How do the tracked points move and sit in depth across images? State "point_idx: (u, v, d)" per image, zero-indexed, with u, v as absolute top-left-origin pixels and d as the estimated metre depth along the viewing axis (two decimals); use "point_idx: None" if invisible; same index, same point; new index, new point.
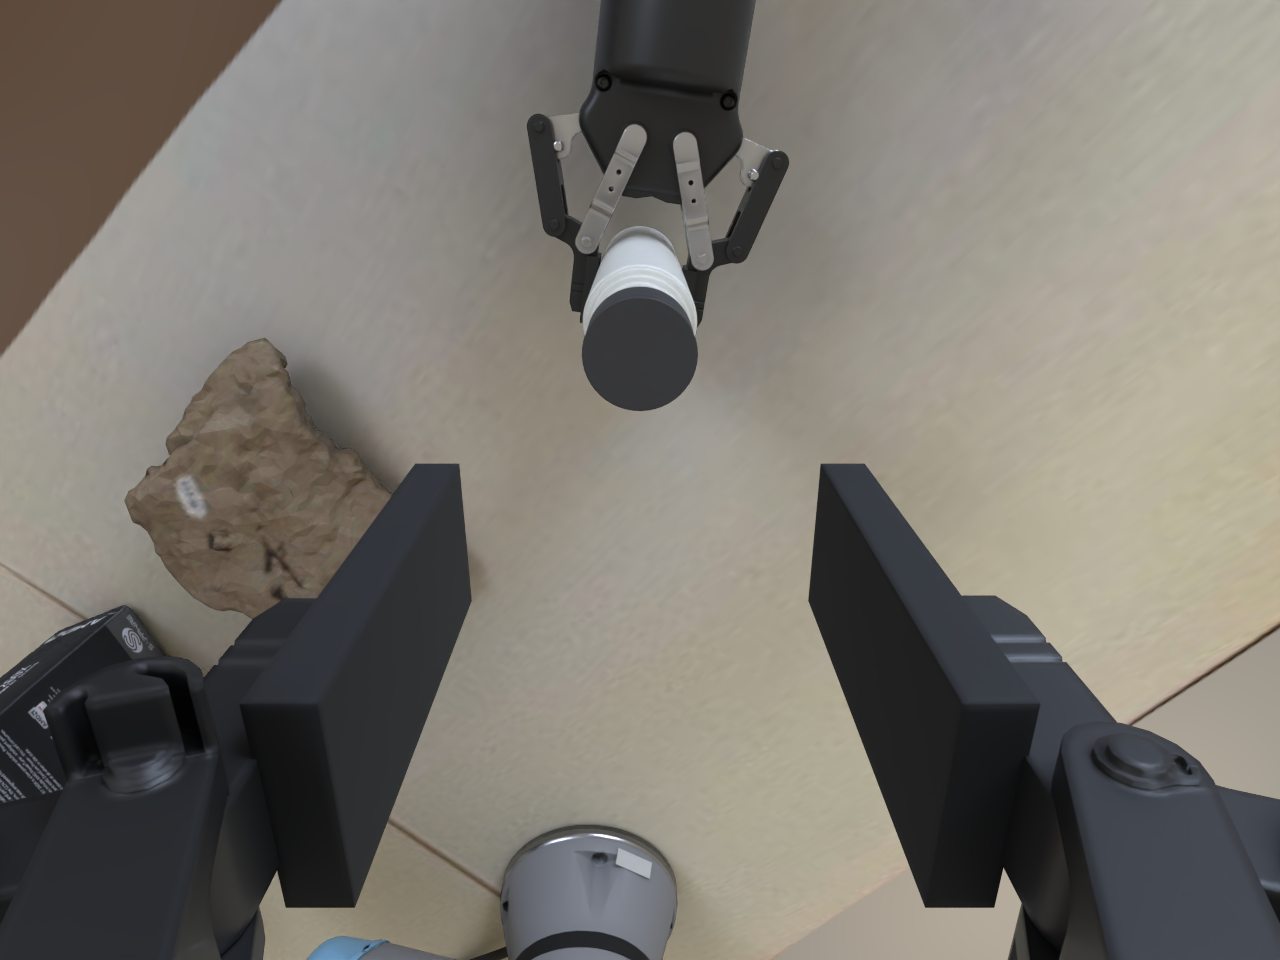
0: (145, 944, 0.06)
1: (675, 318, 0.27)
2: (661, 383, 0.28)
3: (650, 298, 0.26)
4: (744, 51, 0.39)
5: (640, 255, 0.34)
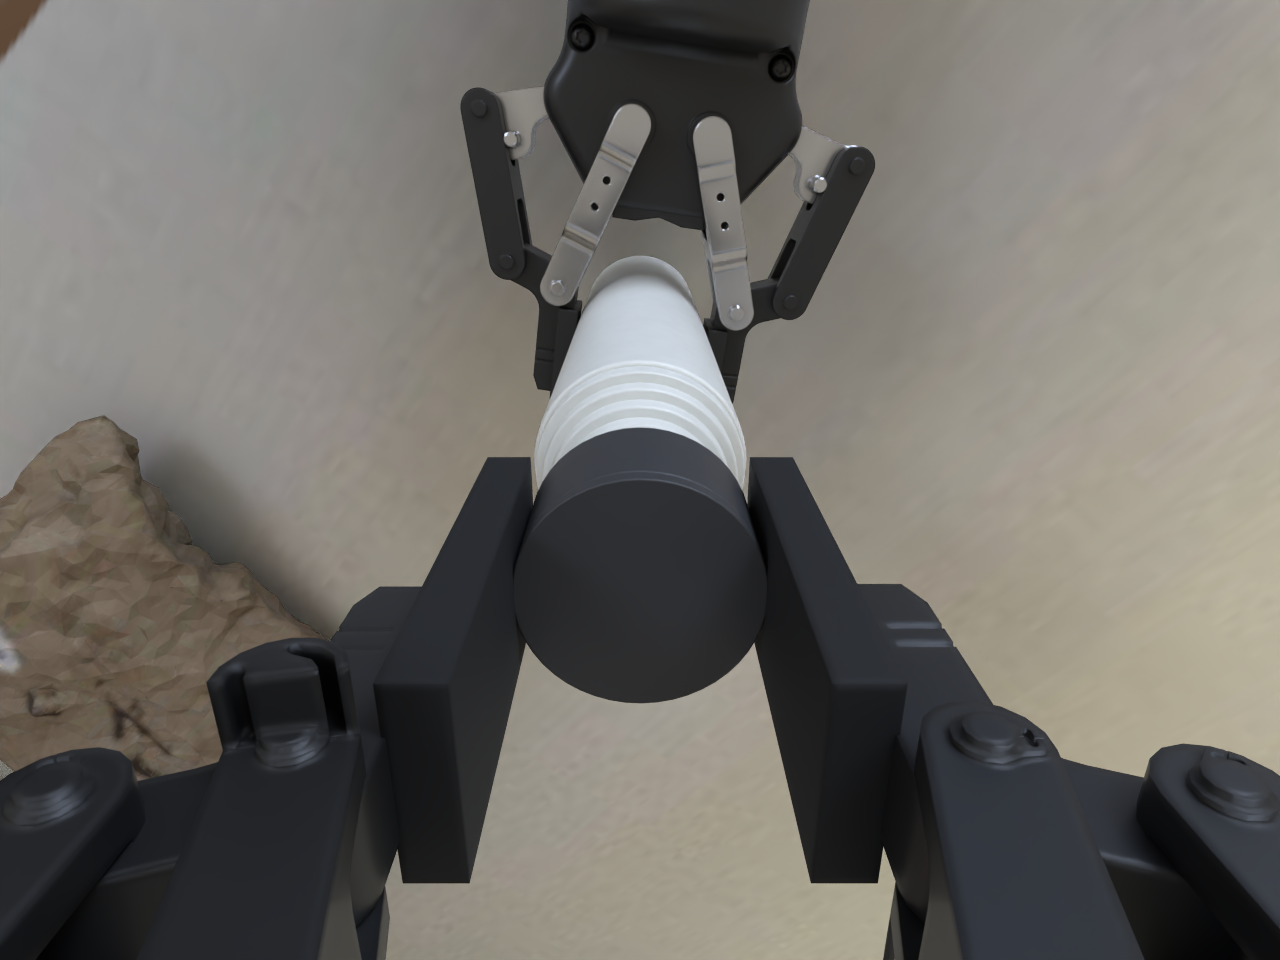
0: (297, 918, 0.06)
1: (721, 523, 0.12)
2: (687, 652, 0.13)
3: (664, 481, 0.11)
4: None
5: (641, 330, 0.19)
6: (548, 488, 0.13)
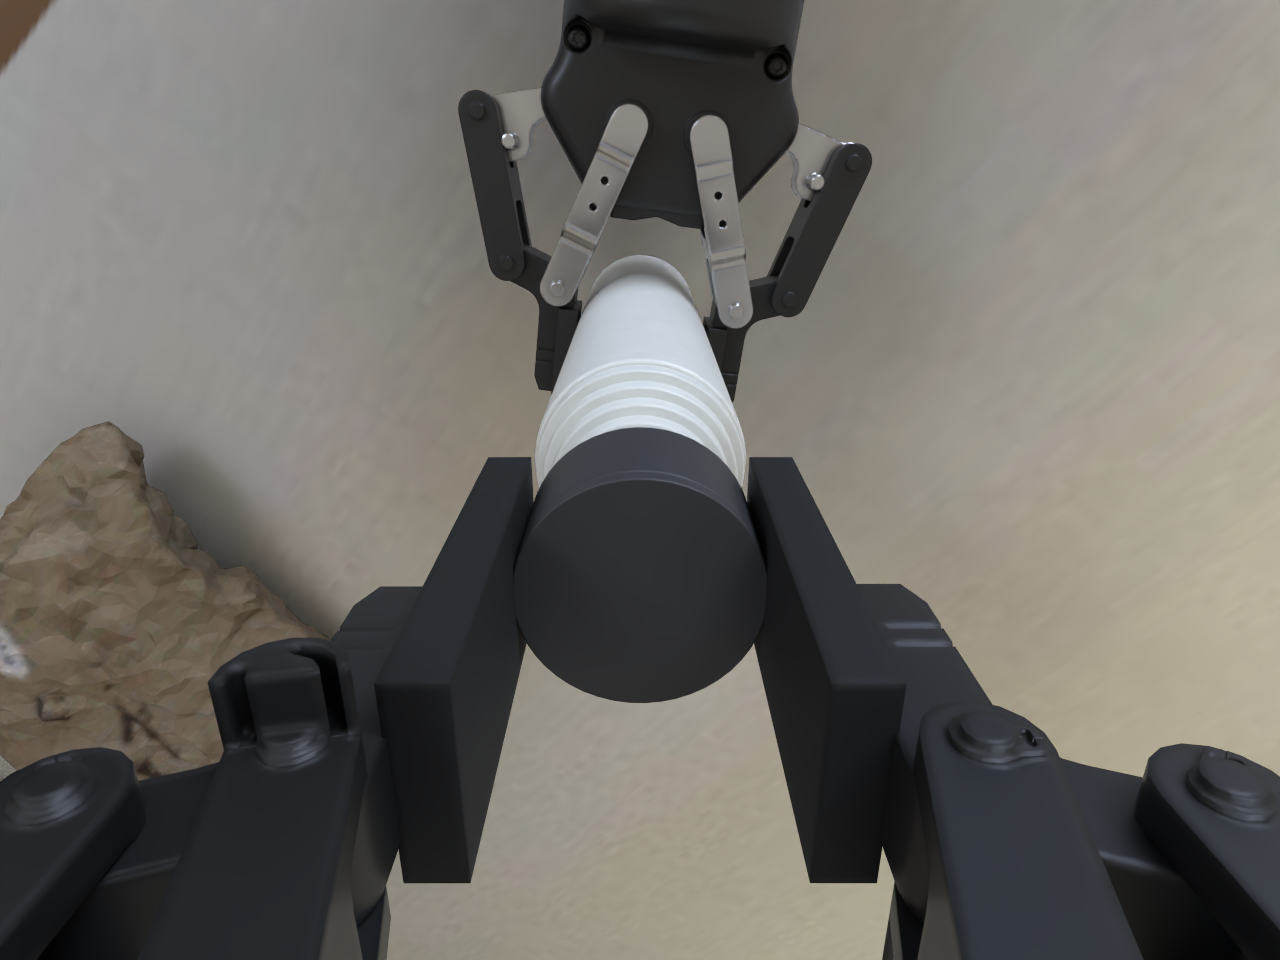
0: (299, 918, 0.06)
1: (526, 590, 0.12)
2: (659, 527, 0.12)
3: (531, 648, 0.13)
4: None
5: (640, 329, 0.20)
6: None
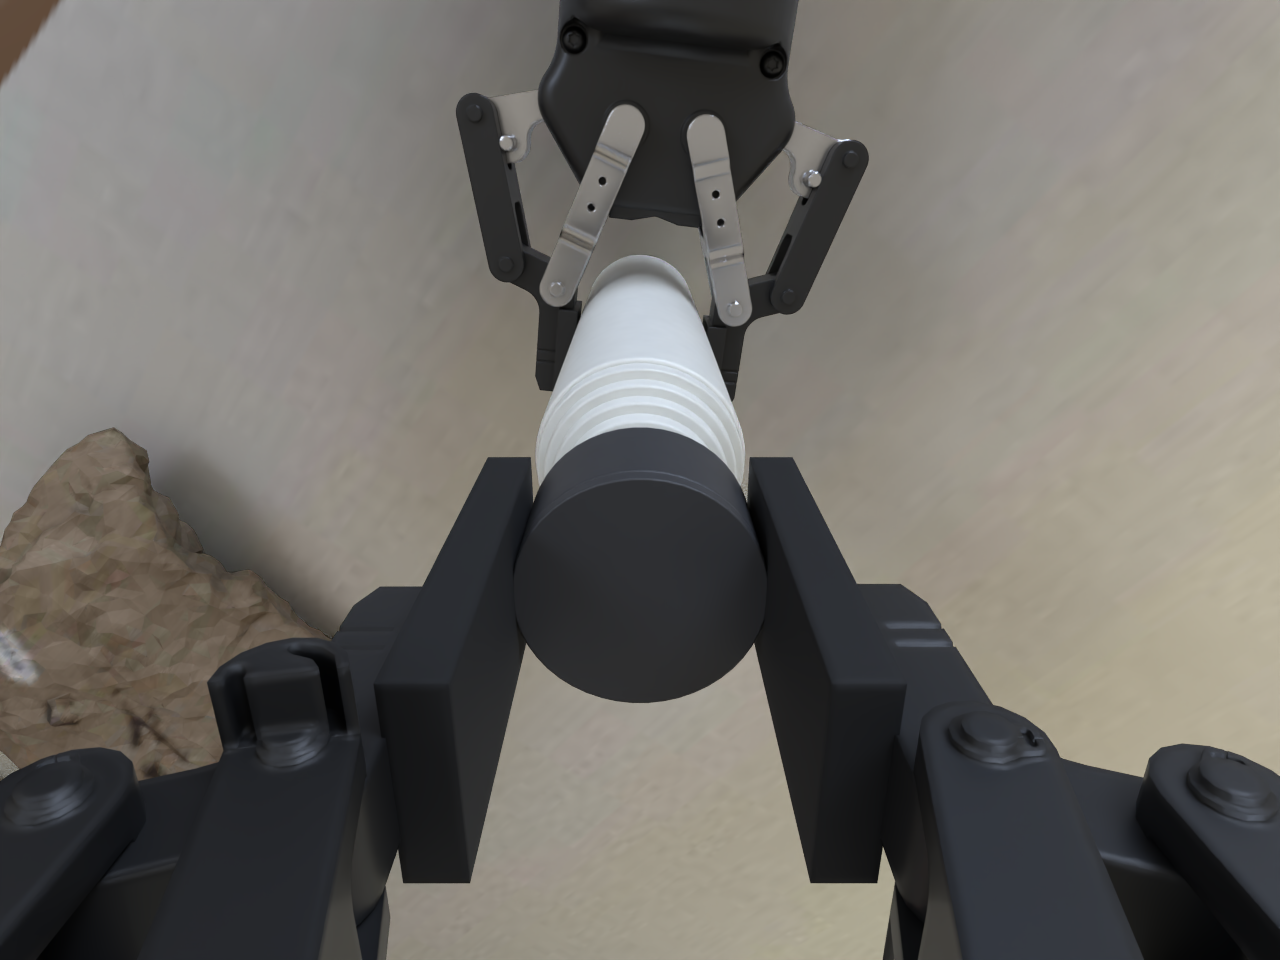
0: (298, 918, 0.06)
1: (702, 675, 0.13)
2: (568, 627, 0.12)
3: (755, 638, 0.12)
4: None
5: (638, 328, 0.20)
6: (736, 493, 0.13)
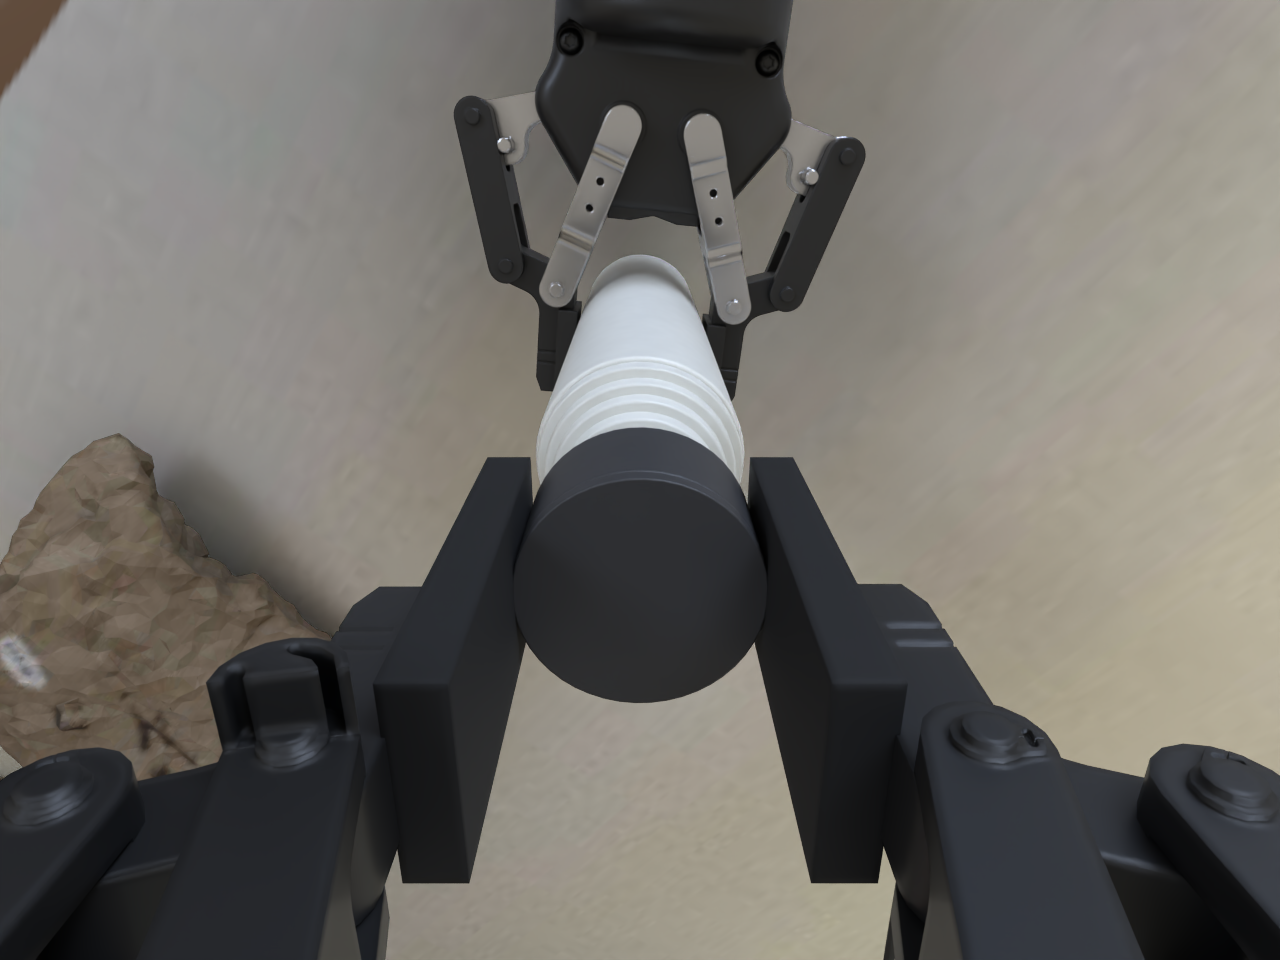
0: (297, 918, 0.06)
1: (673, 497, 0.12)
2: (711, 627, 0.12)
3: (600, 484, 0.12)
4: None
5: (637, 327, 0.20)
6: None
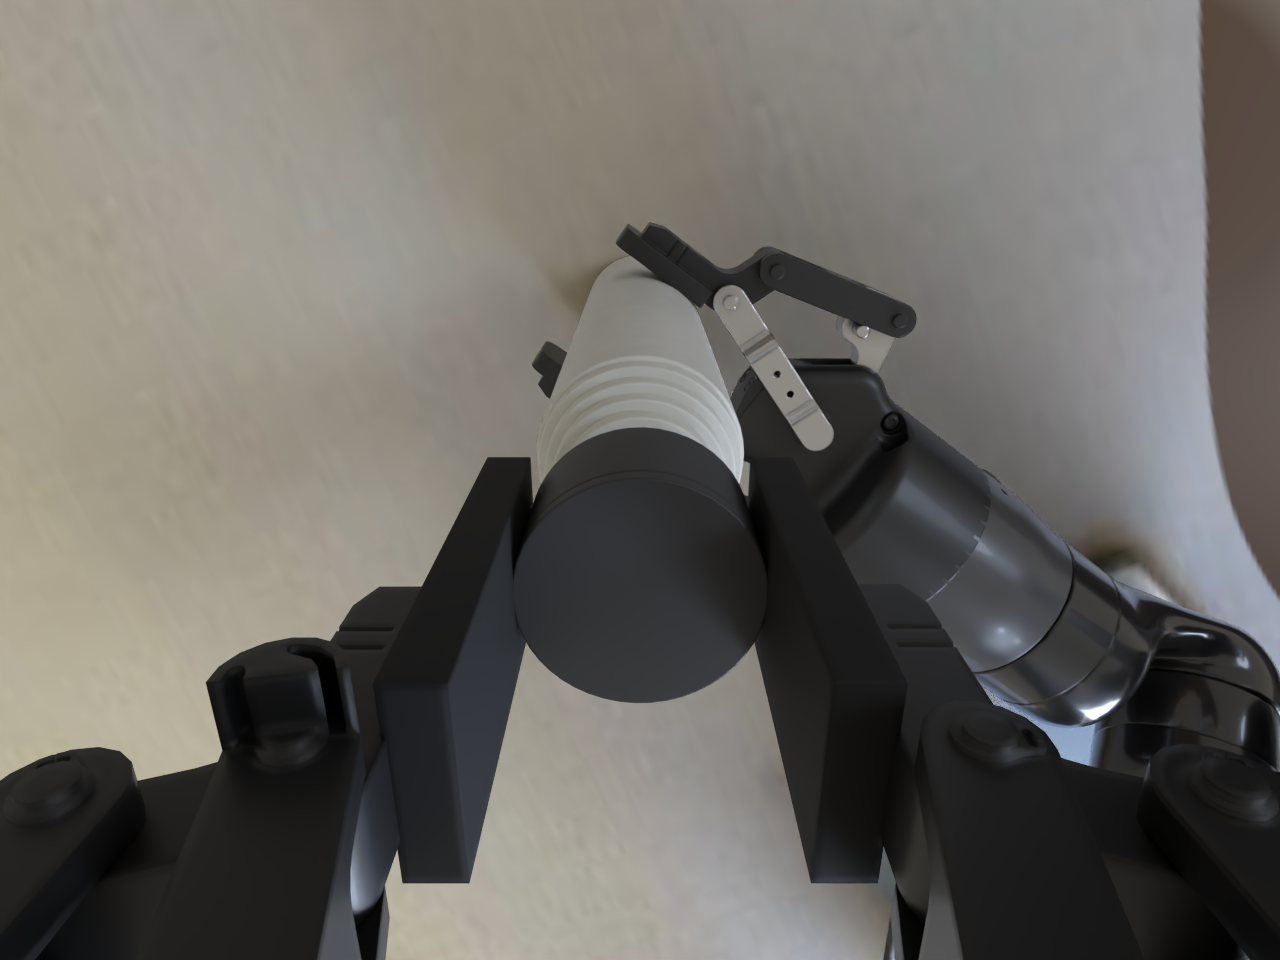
0: (297, 918, 0.06)
1: (673, 497, 0.12)
2: (711, 627, 0.12)
3: (601, 484, 0.12)
4: None
5: None
6: None
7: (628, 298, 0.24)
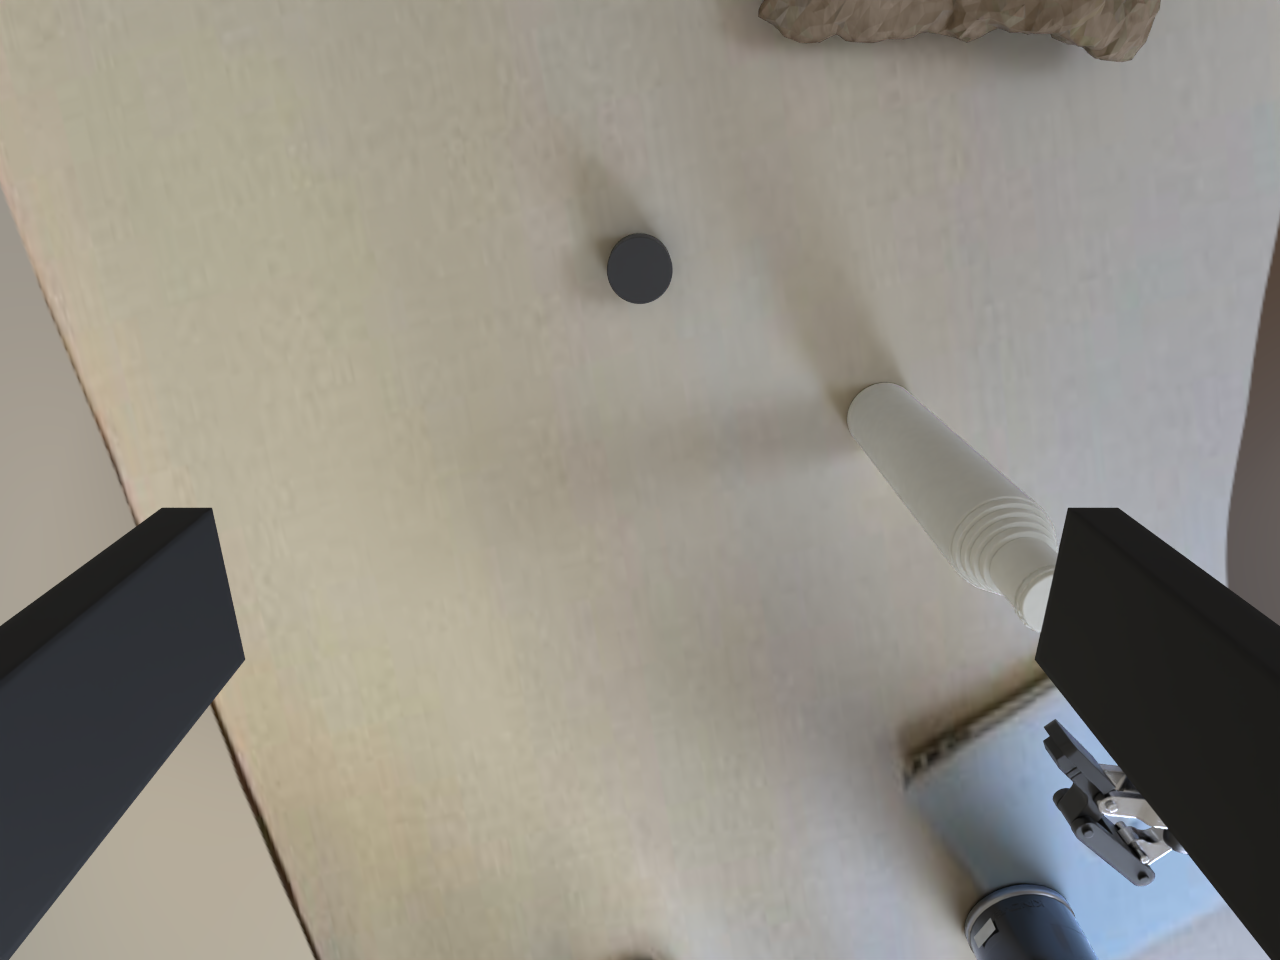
0: None
1: (647, 242, 0.47)
2: (658, 279, 0.48)
3: (630, 238, 0.47)
4: None
5: None
6: None
7: (947, 439, 0.42)
